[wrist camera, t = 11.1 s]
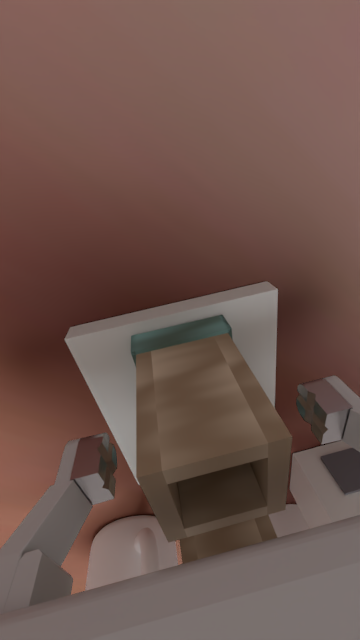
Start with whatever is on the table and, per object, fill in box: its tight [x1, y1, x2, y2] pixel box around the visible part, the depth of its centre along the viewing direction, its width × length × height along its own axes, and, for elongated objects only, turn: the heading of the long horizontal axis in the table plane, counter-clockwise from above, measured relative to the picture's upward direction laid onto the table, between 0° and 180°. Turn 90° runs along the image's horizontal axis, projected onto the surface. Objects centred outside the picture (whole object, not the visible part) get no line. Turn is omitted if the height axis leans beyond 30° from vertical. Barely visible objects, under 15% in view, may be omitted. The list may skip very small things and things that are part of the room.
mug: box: [85, 515, 178, 591], centre depth 20 cm, size 12×8×10 cm
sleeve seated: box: [180, 515, 277, 564], centre depth 15 cm, size 5×5×7 cm
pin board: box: [64, 281, 278, 485], centre depth 14 cm, size 11×14×6 cm
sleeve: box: [131, 315, 292, 543], centre depth 11 cm, size 5×5×7 cm
